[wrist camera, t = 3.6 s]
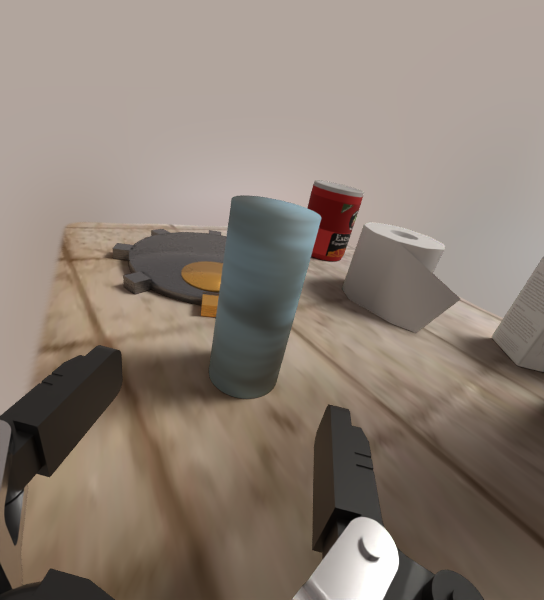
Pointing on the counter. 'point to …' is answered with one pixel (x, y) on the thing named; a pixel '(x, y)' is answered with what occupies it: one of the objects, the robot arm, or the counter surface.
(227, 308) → the pin
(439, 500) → the counter surface
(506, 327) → the small box
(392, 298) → the toilet tissue
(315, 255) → the canned food
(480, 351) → the counter surface
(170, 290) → the sprocket plate
